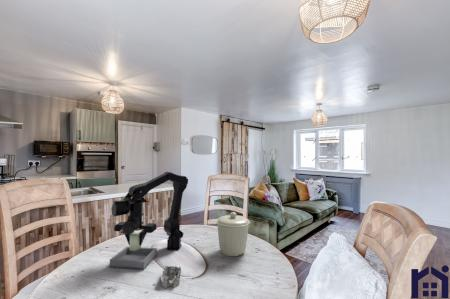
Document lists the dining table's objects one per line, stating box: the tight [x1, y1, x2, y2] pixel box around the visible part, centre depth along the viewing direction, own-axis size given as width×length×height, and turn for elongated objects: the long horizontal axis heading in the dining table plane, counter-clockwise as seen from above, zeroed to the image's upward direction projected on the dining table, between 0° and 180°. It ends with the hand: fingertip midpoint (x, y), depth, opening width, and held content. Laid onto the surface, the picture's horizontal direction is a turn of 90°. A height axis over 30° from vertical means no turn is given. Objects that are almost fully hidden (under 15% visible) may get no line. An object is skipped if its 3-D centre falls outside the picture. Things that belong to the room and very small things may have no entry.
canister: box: [215, 211, 251, 257], centre depth 116 cm, size 18×18×21 cm
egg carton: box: [160, 265, 182, 288], centre depth 89 cm, size 11×8×4 cm
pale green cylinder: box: [128, 231, 142, 251], centre depth 104 cm, size 5×5×7 cm
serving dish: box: [109, 246, 158, 271], centre depth 104 cm, size 16×14×4 cm
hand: (135, 245), depth 104 cm, fingers closed on pale green cylinder, 5 cm apart
